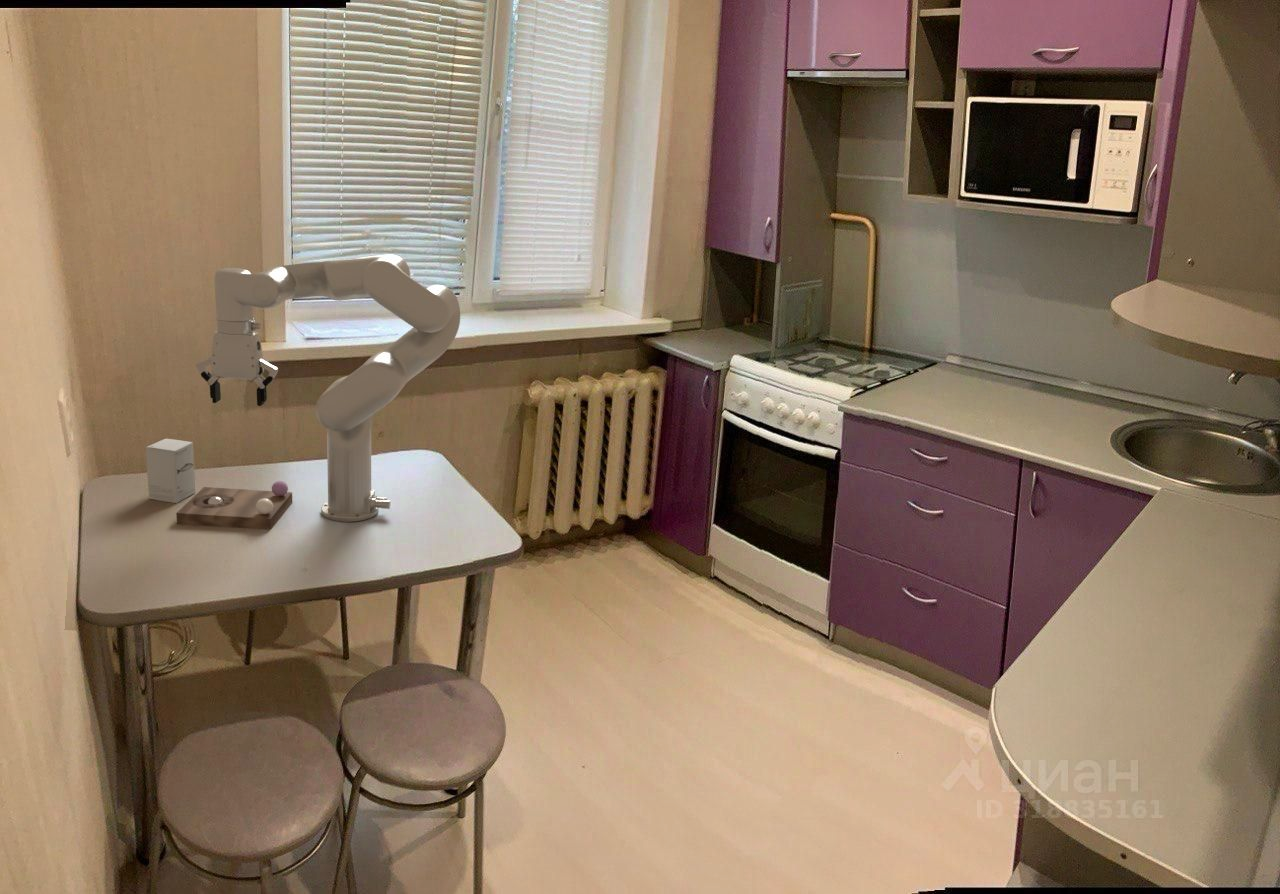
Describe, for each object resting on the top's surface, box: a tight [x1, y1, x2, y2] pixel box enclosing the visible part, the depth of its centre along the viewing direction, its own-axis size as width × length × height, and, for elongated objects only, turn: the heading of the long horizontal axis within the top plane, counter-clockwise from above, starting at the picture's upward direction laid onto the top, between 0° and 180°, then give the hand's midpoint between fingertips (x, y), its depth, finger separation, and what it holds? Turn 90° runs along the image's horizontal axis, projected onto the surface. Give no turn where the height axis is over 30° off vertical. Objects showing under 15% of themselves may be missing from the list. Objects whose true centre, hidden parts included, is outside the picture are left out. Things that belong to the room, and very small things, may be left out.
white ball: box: [256, 498, 273, 514], centre depth 226 cm, size 4×4×4 cm
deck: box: [176, 486, 293, 530], centre depth 232 cm, size 20×16×2 cm
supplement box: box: [145, 438, 196, 504], centre depth 236 cm, size 7×7×13 cm
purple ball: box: [271, 480, 289, 496], centre depth 236 cm, size 4×4×4 cm
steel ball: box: [207, 496, 223, 505], centre depth 231 cm, size 4×4×4 cm
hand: (238, 402), depth 229 cm, fingers open, 9 cm apart
